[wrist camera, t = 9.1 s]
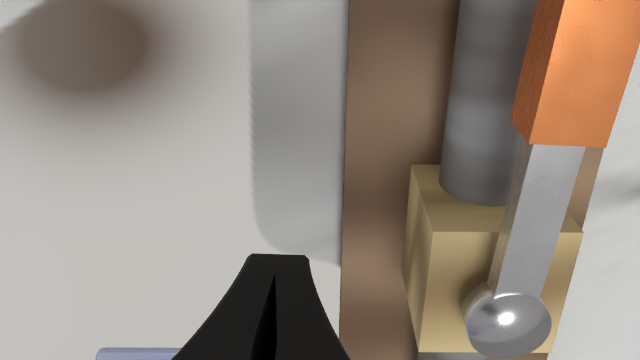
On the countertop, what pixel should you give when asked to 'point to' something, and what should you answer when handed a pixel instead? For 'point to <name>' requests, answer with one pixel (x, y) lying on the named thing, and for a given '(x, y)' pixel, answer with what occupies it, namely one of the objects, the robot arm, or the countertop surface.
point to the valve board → (381, 156)
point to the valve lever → (550, 159)
